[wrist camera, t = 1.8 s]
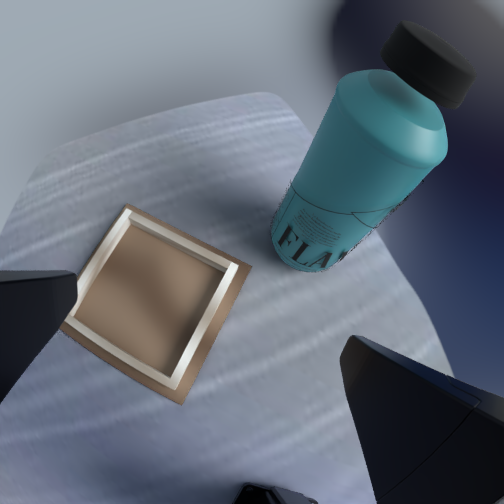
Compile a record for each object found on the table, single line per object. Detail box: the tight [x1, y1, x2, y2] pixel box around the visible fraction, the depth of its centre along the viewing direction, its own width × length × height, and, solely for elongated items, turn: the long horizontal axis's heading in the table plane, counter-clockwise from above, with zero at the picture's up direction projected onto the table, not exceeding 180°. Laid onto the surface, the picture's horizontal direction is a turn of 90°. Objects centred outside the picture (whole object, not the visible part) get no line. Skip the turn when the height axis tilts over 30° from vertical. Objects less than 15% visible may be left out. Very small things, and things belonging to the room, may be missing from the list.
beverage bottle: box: [270, 21, 476, 272], centre depth 17 cm, size 6×7×20 cm
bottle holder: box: [60, 203, 252, 405], centre depth 21 cm, size 12×12×2 cm
